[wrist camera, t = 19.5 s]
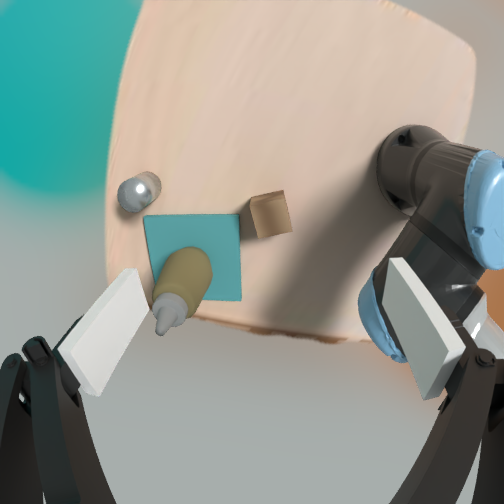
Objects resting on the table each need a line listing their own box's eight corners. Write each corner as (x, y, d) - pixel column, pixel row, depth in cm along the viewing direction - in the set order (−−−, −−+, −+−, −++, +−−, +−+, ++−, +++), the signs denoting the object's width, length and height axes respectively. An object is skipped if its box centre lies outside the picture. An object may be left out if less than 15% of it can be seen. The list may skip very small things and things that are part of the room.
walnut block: (283, 189, 42) (284, 198, 38) (290, 219, 44) (292, 231, 40) (251, 197, 43) (249, 206, 39) (259, 226, 45) (258, 238, 41)
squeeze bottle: (162, 257, 47) (118, 323, 31) (193, 230, 45) (154, 293, 29) (193, 289, 50) (164, 362, 34) (226, 265, 47) (206, 340, 31)
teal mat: (239, 214, 44) (238, 216, 43) (241, 298, 51) (241, 301, 50) (145, 215, 45) (143, 217, 44) (159, 294, 52) (158, 296, 51)
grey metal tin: (160, 170, 42) (144, 178, 36) (162, 200, 44) (148, 211, 38) (132, 172, 42) (115, 180, 37) (136, 201, 44) (120, 213, 39)
